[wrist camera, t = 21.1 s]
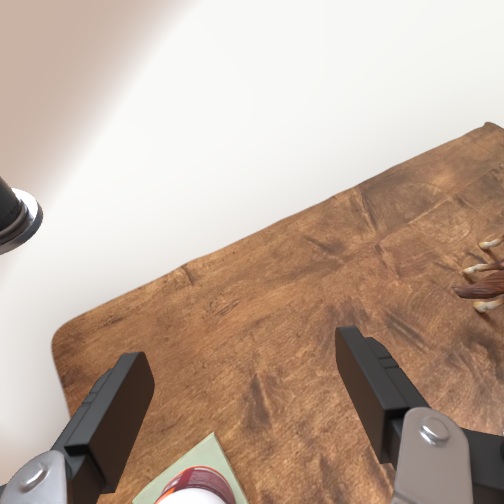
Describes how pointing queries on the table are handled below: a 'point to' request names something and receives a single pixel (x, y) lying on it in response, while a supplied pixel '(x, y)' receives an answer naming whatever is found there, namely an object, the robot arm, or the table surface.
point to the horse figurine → (485, 282)
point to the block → (201, 454)
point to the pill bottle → (197, 487)
